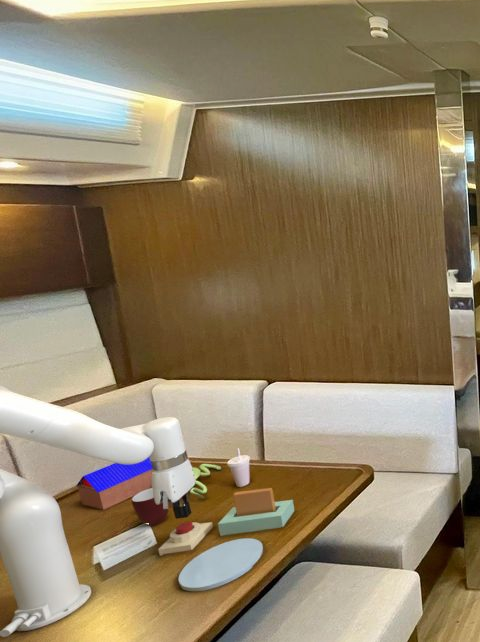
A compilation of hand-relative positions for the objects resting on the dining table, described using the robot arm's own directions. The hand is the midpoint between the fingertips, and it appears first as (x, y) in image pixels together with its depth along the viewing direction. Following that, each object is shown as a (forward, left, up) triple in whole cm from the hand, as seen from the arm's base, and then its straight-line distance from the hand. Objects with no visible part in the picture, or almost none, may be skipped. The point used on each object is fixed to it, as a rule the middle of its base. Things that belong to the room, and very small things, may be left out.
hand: (183, 516), depth 132 cm
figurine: (+30, +19, -9) cm, 36 cm away
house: (+35, +38, -9) cm, 52 cm away
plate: (-13, -16, -8) cm, 22 cm away
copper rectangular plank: (+4, -17, -8) cm, 19 cm away
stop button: (0, 0, -5) cm, 5 cm away
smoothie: (+30, 0, -9) cm, 31 cm away
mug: (+13, +17, -9) cm, 23 cm away
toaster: (+4, -17, -8) cm, 19 cm away
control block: (0, 0, -8) cm, 8 cm away
